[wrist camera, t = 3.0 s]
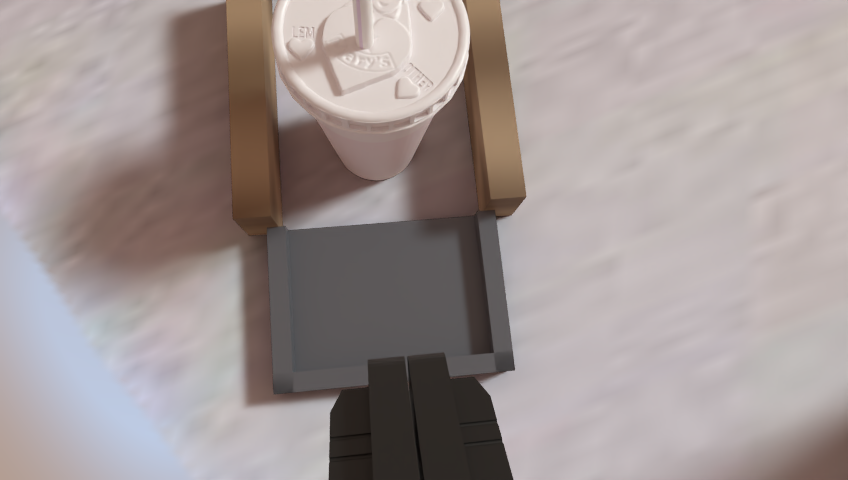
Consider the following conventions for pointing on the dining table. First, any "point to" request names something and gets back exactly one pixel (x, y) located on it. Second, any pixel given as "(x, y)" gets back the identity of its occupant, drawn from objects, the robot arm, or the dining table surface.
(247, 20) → the walnut channel
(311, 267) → the tray
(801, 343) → the dining table surface
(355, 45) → the smoothie
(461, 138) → the dining table surface
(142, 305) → the dining table surface
